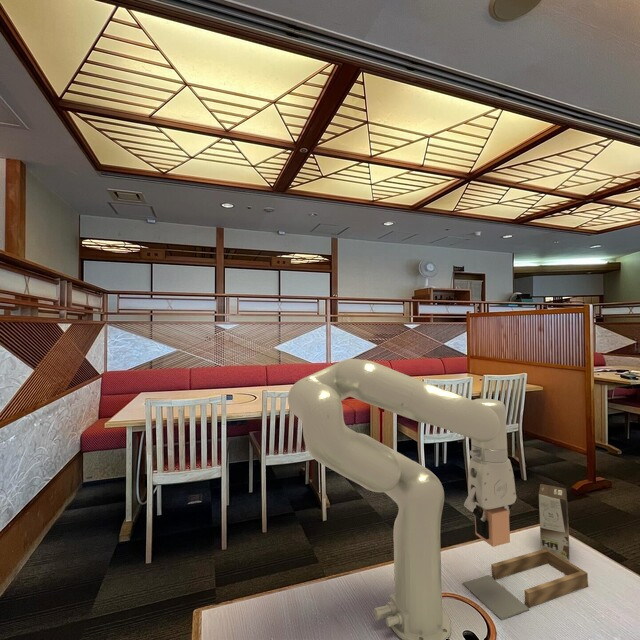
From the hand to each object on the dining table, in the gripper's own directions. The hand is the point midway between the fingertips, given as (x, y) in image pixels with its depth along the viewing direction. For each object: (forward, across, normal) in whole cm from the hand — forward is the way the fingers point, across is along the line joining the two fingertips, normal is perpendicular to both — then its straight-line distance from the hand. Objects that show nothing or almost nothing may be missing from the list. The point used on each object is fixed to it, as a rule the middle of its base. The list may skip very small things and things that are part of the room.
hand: (492, 532), depth 76 cm
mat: (+14, 0, 0) cm, 14 cm away
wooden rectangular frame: (+14, +13, 0) cm, 19 cm away
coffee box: (+14, +29, +7) cm, 33 cm away
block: (+1, 0, 0) cm, 1 cm away
